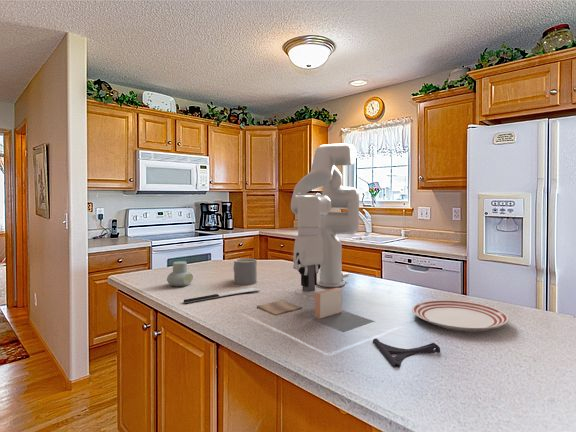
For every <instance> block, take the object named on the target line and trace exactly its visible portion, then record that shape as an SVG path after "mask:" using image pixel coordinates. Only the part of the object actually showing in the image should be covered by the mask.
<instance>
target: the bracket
mask: <svg viewBox="0 0 576 432" xmlns="http://www.w3.org/2000/svg"><path fill="white" fill-rule="evenodd" d="M372 344H375V345H374V346H375V348H376V349H377V350H378V349H379V350H378V351H379V352H380V353H381V355H382V356H383V357H384V359H385V360H386V361H387V362H388V363H389V364H390V366H391V367H392V368H395V367H396V366H397V368H400V367H401V365H402V361H403V360H404V359H406V358H407V357H409V356H412V355H416V354H434V353H435V354H436V353H441V348H440V346H439V345H438V344H437V343H435V342H431V343H429V344H425V345H422V346H419V347H412V348H403V347H402V348H401V347H396V346H391V345H389V344H386V343H383V342H381V341H380V340H379V339H378V338H374V339H373V340H372ZM394 355H395V356H394Z"/></svg>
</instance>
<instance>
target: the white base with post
mask: <svg viewBox="0 0 576 432" xmlns="http://www.w3.org/2000/svg"><path fill="white" fill-rule="evenodd" d="M303 269H304V267H303ZM307 275H308V276H309V286H308V287H305V286H302V290H298V291H295V292H294V296H297V297H301V298H304V299H310V298H315V293H316V292H320V291H324V290H326V289H325V288H321V287H316V285H315V265H311V266H308V271H307Z"/></svg>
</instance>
